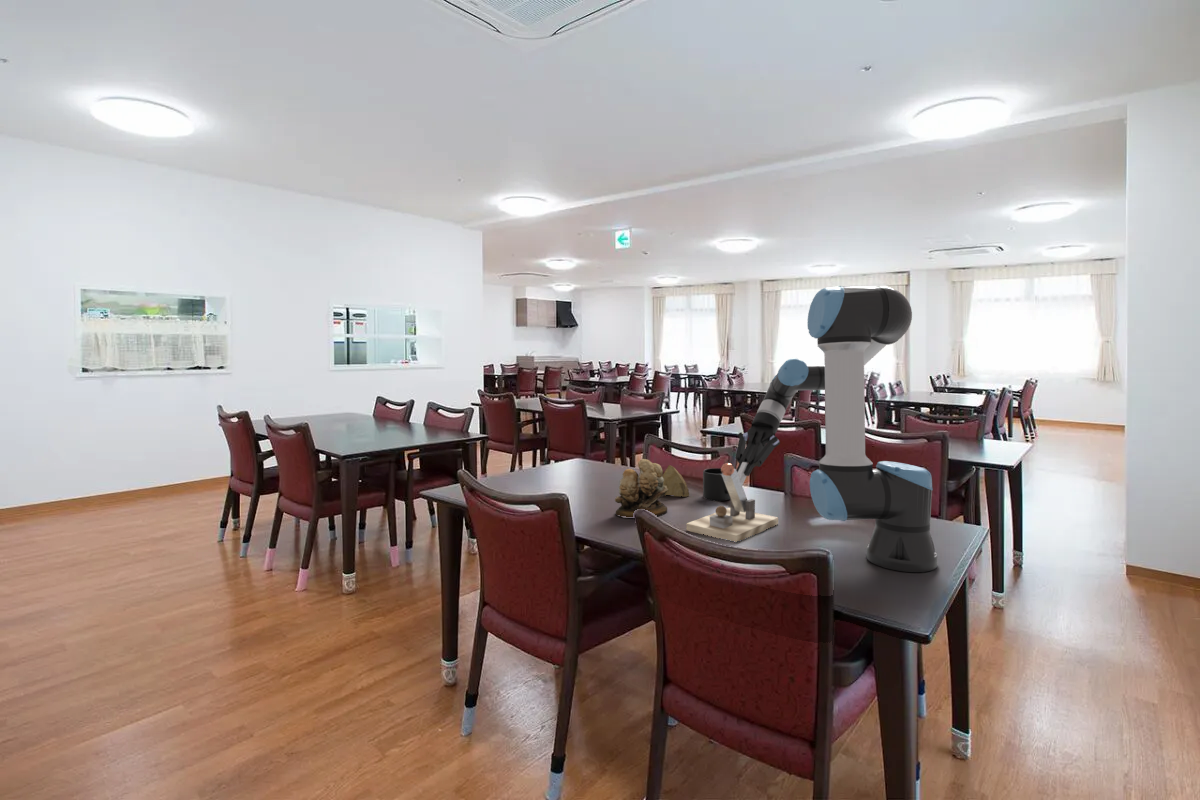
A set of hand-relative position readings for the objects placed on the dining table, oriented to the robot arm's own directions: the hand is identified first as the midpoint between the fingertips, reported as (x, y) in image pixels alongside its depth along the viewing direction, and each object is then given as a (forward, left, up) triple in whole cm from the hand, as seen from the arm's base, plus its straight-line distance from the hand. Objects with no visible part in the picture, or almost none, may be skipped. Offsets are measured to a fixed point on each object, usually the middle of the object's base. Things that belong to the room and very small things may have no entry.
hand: (737, 483), depth 175 cm
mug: (+28, -9, -12) cm, 32 cm away
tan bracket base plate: (-2, +2, -12) cm, 12 cm away
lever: (+1, -2, -7) cm, 8 cm away
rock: (+37, +4, -12) cm, 40 cm away
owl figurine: (+20, +21, -12) cm, 32 cm away
